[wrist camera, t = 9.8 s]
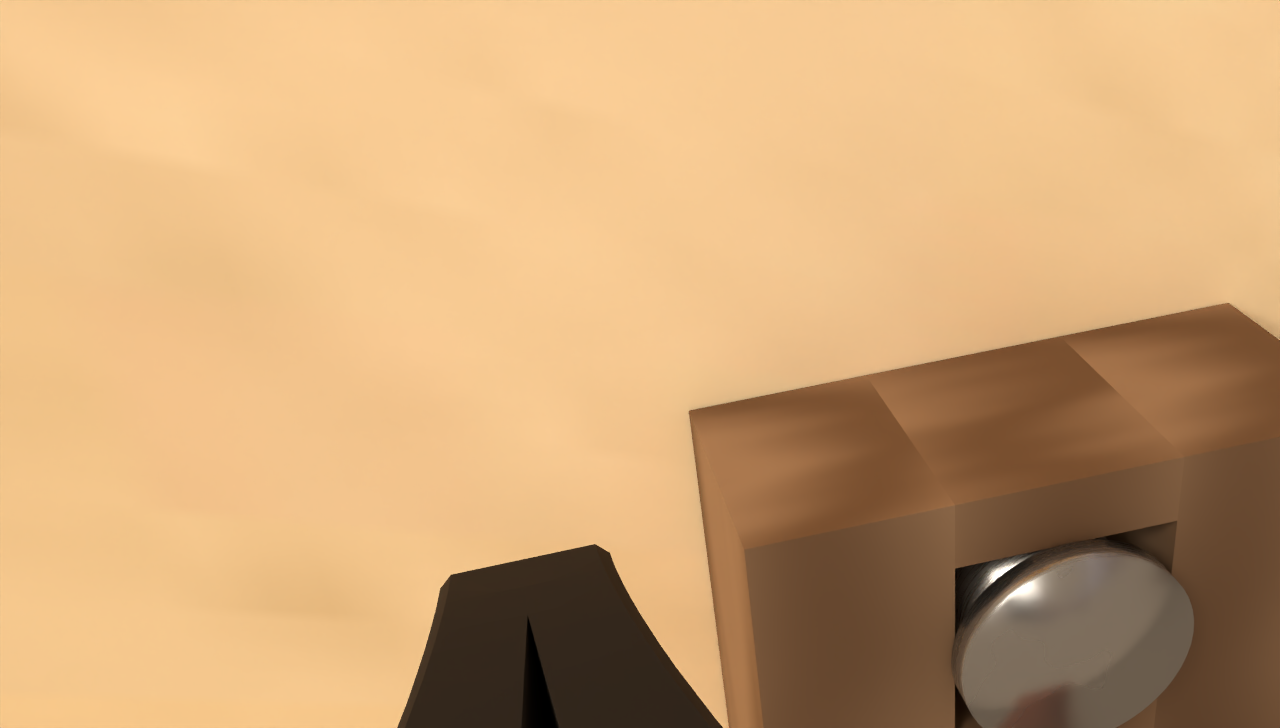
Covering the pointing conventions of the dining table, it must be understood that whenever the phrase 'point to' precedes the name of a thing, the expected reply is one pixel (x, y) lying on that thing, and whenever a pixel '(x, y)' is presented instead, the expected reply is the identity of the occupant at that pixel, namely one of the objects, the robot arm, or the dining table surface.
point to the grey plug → (1068, 635)
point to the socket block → (994, 515)
